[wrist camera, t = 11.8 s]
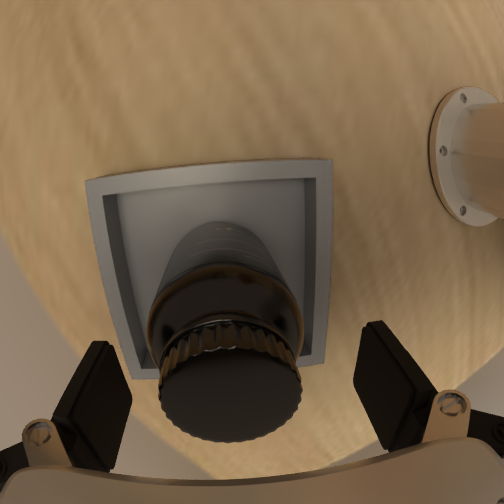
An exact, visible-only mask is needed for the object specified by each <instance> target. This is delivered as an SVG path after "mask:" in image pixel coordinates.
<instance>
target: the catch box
mask: <svg viewBox="0 0 504 504" xmlns="http://www.w3.org/2000/svg"><path fill="white" fill-rule="evenodd" d="M85 186H86V194H87V202H88V209H89V215H90V222H91V228H92V233H93V239H94V244H95V249H96V254H97V259H98V264H99V268H100V273H101V277H102V281H103V286H104V290H105V294H106V298H107V301H108V305H109V309H110V313H111V316H112V320H113V323H114V327H115V330H116V333H117V337H118V340H119V343H120V346H121V349H122V352H123V355H124V358H125V361H126V364H127V367H128V370H129V373H130V375H131V378H132V379H159V378H160V373H159V369H158V368H157V367H156V365H155V363H154V361H153V359H152V357H151V355H150V352H149V349H148V345H147V338H146V327H147V321H148V316H149V312H150V309H151V306H152V303H153V301H154V298H155V295H156V293H157V290H158V287H159V285H160V282H161V280H162V277H163V274H164V272H165V269H166V267H167V264H168V262H169V259H170V257H171V255H172V253H173V251H174V249H175V247H176V246H177V244H178V243H179V242H180V241H181V239H182V238H183V237H184V236H186V235H187V234H188V233H189V232H191V231H192V230H194V229H196V228H198V227H200V226H203V225H206V224H210V223H218V222H221V223H231V224H236V225H239V226H241V227H244V228H246V229H248V230H249V231H251V232H252V233H254V234H255V235H256V236H257V237H258V238H259V239H260V240H261V241H262V242H263V244H264V245H265V246H266V248H267V249H268V251H269V253H270V254H271V256H272V258H273V260H274V262H275V263H276V265H277V267H278V269H279V270H280V272H281V274H282V276H283V278H284V279H285V281H286V283H287V285H288V287H289V288H290V290H291V292H292V294H293V296H294V297H295V299H296V302H297V304H298V306H299V308H300V311H301V314H302V317H303V322H304V340H303V345H302V349H301V352H300V355H299V357H298V359H297V361H296V366H297V368H298V367H304V366H311V365H317V364H323V363H324V357H325V347H326V336H327V325H328V312H329V298H330V281H331V260H332V228H333V160H330V159H321V158H280V159H255V160H238V161H223V162H210V163H199V164H188V165H178V166H169V167H161V168H152V169H145V170H137V171H130V172H123V173H117V174H110V175H105V176H101V177H97V178H93V179H90V180H86V181H85Z"/></svg>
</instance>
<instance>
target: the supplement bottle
mask: <svg viewBox="0 0 504 504" xmlns="http://www.w3.org/2000/svg"><path fill="white" fill-rule="evenodd" d="M146 338H147V345H148V349H149V352H150V355H151V357H152V359H153V361H154V363H155V365H156V367H157V368H158V369H159V373H160V378H159V384H158V388H159V394H158V398H159V400H160V402H161V409H162V410H163V411H164V412H165V413H166V417H167V418H168V419H170V420H171V421H172V423H173V425H175V426H177V427H179V428H180V429H181V430H182V431H183V432H186V433H189V434H190V435H191V436H193V437H198V438H201V439H202V440H209V441H213V442H225V443H232V442H243V441H246V440H254V439H256V438H258V437H263V436H265V435H267V434H268V433H271V432H274V431H275V430H276V429H277V428H278V427H280V426H283V425H284V424H285V423H286V421H287V420H289V419H290V418H292V416H293V413H294V412H295V411H296V410H297V409H298V404H299V403H300V401H301V393H302V391H303V388H302V385H301V376H300V374H299V371H298V369H297V366H296V361H297V359H298V357H299V355H300V352H301V349H302V345H303V340H304V322H303V317H302V314H301V311H300V308H299V306H298V304H297V302H296V299H295V297H294V296H293V294H292V292H291V290H290V288H289V287H288V285H287V283H286V281H285V279H284V278H283V276H282V274H281V272H280V270H279V269H278V267H277V265H276V263H275V262H274V260H273V258H272V256H271V254H270V253H269V251H268V249H267V248H266V246H265V245H264V244H263V242H262V241H261V240H260V239H259V238H258V237H257V236H256V235H255V234H254V233H252V232H251V231H249V230H248V229H246V228H244V227H241V226H239V225H236V224H231V223H221V222H218V223H210V224H206V225H203V226H200V227H198V228H196V229H194V230H192V231H191V232H189V233H188V234H187V235H186V236H184V237H183V238H182V239H181V241H180V242H179V243H178V244H177V246H176V247H175V249H174V251H173V253H172V255H171V257H170V259H169V262H168V264H167V267H166V269H165V272H164V274H163V277H162V280H161V282H160V285H159V287H158V290H157V293H156V295H155V298H154V301H153V303H152V306H151V309H150V312H149V316H148V321H147V327H146Z"/></svg>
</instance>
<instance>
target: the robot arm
mask: <svg viewBox="0 0 504 504" xmlns="http://www.w3.org/2000/svg"><path fill="white" fill-rule="evenodd" d="M429 154H430V164H431V171H432V176H433V180H434V184H435V187H436V190H437V192H438V195H439V197H440V199H441V201H442V203H443V205H444V206H445V208H446V209H447V210H448V211H449V213H450V214H451V215H452V216H453V217H455V218H456V219H457V220H458V221H460V222H463V223H465V224H467V225H470V226H474V227H482V226H486V225H488V224H491V223H492V222H494V221H495V220H496V219H498V218H502V219H504V103H499V102H498V101H497V99H496V98H495V97H493V96H492V95H491V94H490V93H489V92H487V91H485V90H483V89H481V88H478V87H473V86H472V87H462V88H458V89H455V90H453V91H452V92H450V93H449V94H447V96H446V97H445V98H444V99H443V100H442V101H441V103H440V105H439V107H438V109H437V111H436V113H435V116H434V119H433V123H432V127H431V134H430V152H429ZM353 384H354V387H355V390H356V392H357V394H358V396H359V398H360V400H361V402H362V404H363V406H364V408H365V411H366V413H367V415H368V417H369V419H370V421H371V423H372V426H373V428H374V430H375V432H376V434H377V436H378V439H379V441H380V443H381V445H382V447H383V449H385V450H386V449H388V451H389V453H387V454H383V455H380V456H376V457H372V458H368V459H364V460H360V461H356V462H352V463H348V464H344V465H339V466H334V467H330V468H325V469H319V470H314V471H308V472H301V473H295V474H287V475H279V476H271V477H260V478H248V479H229V480H179V479H161V478H149V477H139V476H130V475H122V474H114V473H109V472H110V469H113V468H114V467H115V463H116V459H117V455H118V451H119V448H120V444H121V440H122V436H123V433H124V429H125V426H126V422H127V418H128V415H129V412H130V408H131V405H132V394H131V392H130V389H129V387H128V384H127V382H126V379H125V377H124V374H123V371H122V369H121V366H120V363H119V361H118V358H117V355H116V352H115V349H114V347H113V345H110V344H109V342H108V341H93V342H92V343H91V345H90V346H89V348H88V350H87V352H86V353H85V355H84V357H83V359H82V360H81V362H80V364H79V366H78V367H77V369H76V371H75V373H74V375H73V377H72V378H71V380H70V382H69V384H68V386H67V388H66V390H65V391H64V393H63V395H62V397H61V399H60V401H59V403H58V405H57V407H56V409H55V411H54V413H53V416H52V419H51V421H50V420H47V419H36V420H33V421H31V422H29V423H28V424H27V425H26V426H25V428H24V430H23V432H22V442H20V443H18V444H15V445H13V446H11V447H9V448H6V449H4V450H2V451H0V504H504V417H501V416H497V415H493V414H488V413H485V412H481V411H477V410H472V409H471V405H470V401H469V399H468V398H467V397H466V396H465V395H464V394H463V393H461V392H459V391H456V390H443V391H441V392H439V393H438V391H437V390H436V389H435V387H434V386H433V385H432V383H431V382H430V380H429V379H428V378H427V376H426V375H425V374H424V372H423V371H422V370H421V368H420V367H419V366H418V364H417V363H416V362H415V360H414V359H413V358H412V356H411V355H410V354H409V353H408V351H406V349H405V348H404V347H403V346H402V344H401V343H400V342H399V340H398V339H397V338H396V337H395V335H394V334H393V333H392V331H391V330H390V329H389V328H388V326H387V325H386V324H385V323H384V322H383V321H382V320H379V321H373V322H368V323H367V325H366V327H363V329H362V334H361V340H360V346H359V351H358V357H357V362H356V367H355V372H354V377H353Z"/></svg>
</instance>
